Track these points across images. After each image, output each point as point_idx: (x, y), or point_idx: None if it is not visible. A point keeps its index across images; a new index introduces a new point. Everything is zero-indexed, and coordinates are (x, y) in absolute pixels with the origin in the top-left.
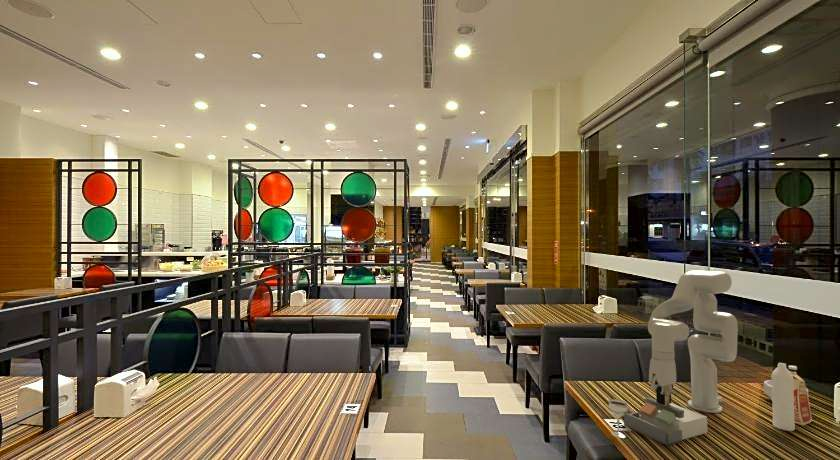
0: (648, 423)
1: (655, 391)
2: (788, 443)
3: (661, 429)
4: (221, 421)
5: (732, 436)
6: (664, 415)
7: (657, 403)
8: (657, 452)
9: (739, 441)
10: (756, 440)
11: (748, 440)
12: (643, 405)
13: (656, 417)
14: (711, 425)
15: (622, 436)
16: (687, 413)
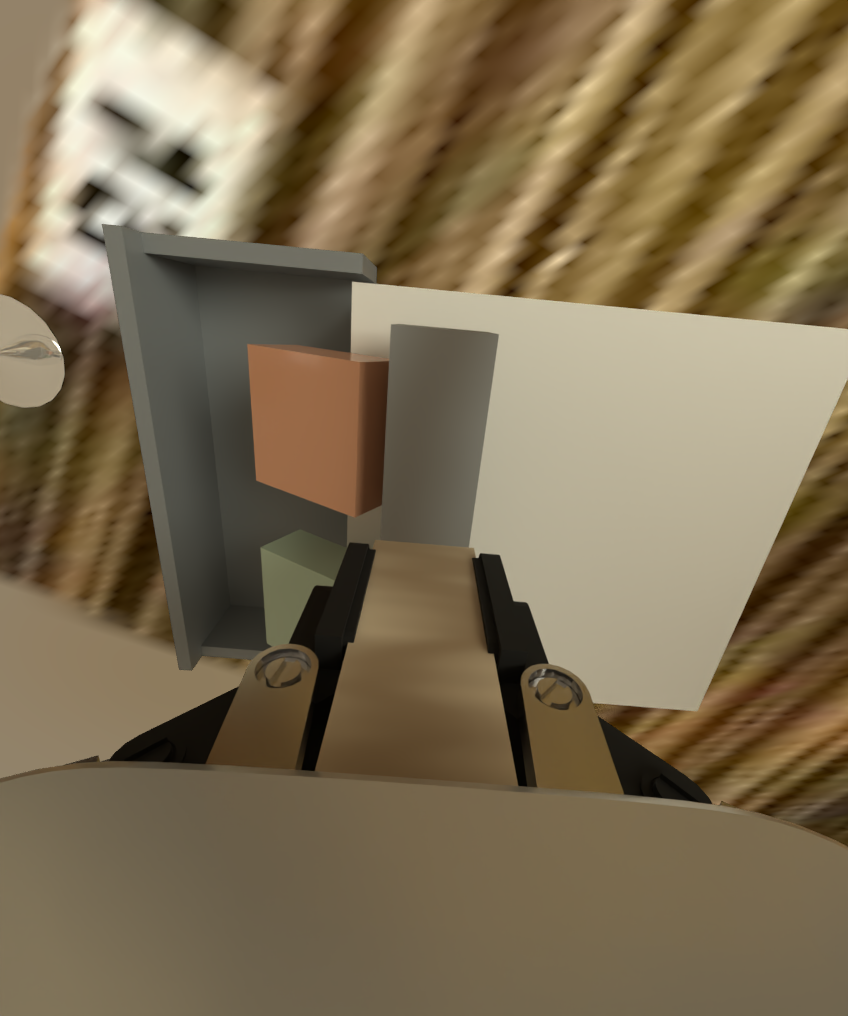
0: (155, 531)
1: (253, 664)
2: (819, 831)
3: (173, 632)
4: None
5: (700, 704)
6: (300, 615)
7: (381, 525)
8: (102, 619)
9: (654, 740)
10: (741, 768)
11: (708, 753)
12: (309, 356)
13: (268, 544)
14: (800, 587)
15: (11, 397)
16: (640, 615)
